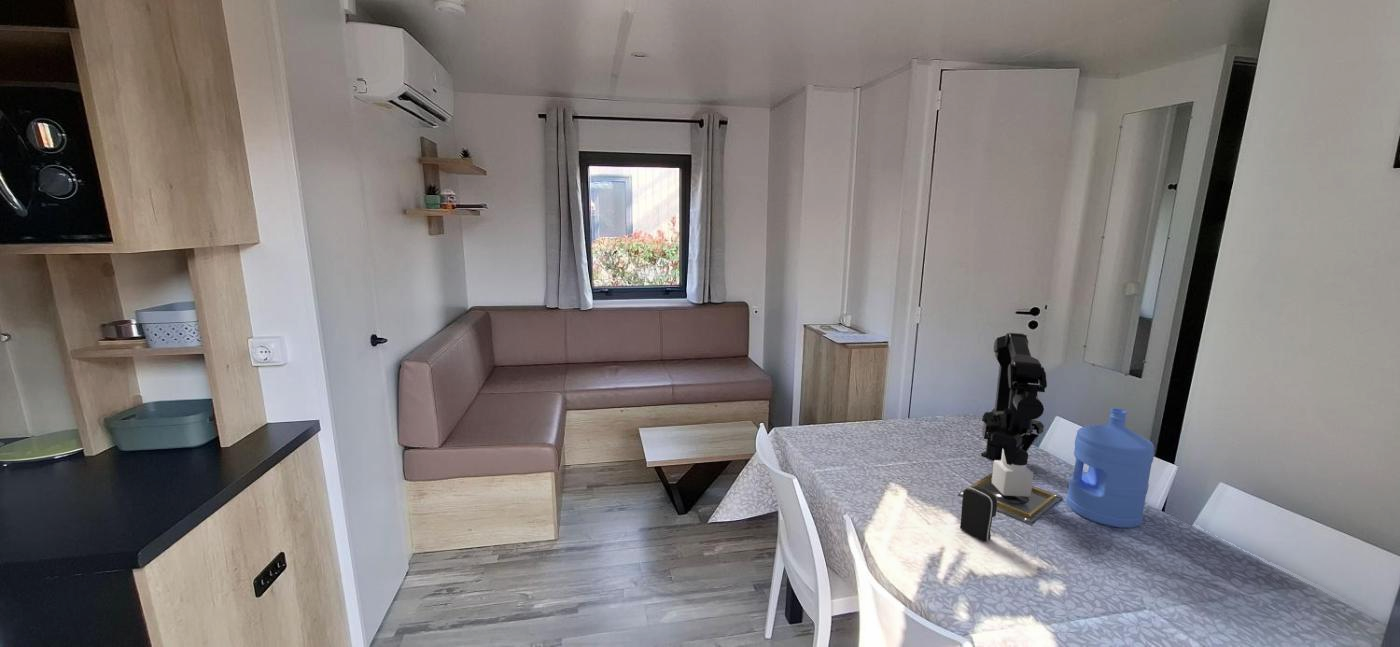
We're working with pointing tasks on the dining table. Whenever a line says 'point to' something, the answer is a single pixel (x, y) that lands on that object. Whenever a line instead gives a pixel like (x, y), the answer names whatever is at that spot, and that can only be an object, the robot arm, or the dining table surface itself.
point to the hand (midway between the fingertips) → (1014, 461)
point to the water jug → (1111, 473)
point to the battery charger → (978, 512)
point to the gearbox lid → (1019, 501)
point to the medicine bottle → (1013, 476)
